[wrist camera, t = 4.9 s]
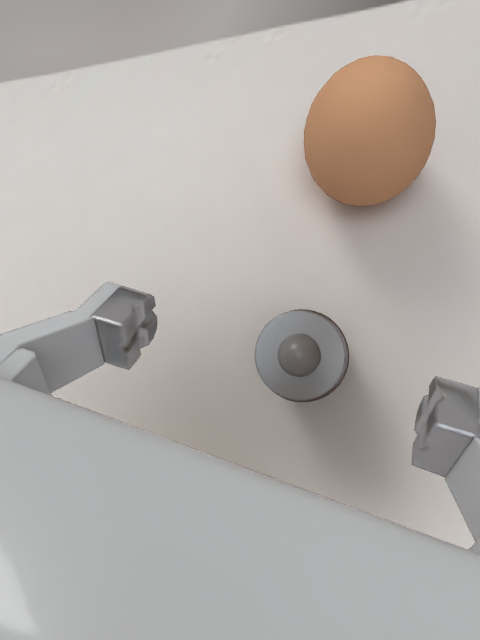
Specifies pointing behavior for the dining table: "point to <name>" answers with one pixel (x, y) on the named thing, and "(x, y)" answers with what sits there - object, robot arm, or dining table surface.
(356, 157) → the egg
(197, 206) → the dining table surface
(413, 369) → the dining table surface
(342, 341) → the pepper shaker
